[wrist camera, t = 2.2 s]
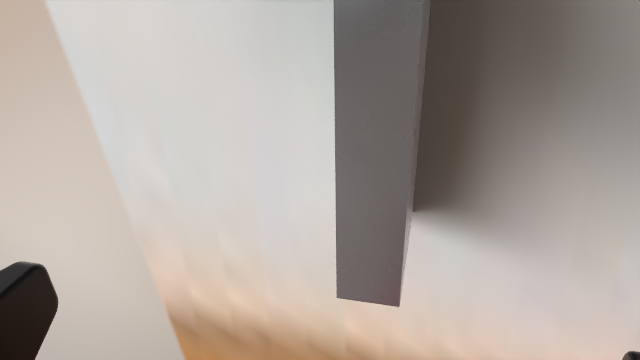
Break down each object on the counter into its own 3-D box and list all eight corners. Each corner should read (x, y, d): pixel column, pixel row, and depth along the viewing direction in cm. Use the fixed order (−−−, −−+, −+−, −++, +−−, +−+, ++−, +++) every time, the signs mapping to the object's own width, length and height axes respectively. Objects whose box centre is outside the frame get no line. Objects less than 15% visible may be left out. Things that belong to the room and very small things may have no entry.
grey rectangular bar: (452, -242, 14) (442, -239, 10) (413, 209, 23) (399, 306, 19) (370, -240, 15) (331, -235, 11) (361, 203, 23) (336, 297, 19)
